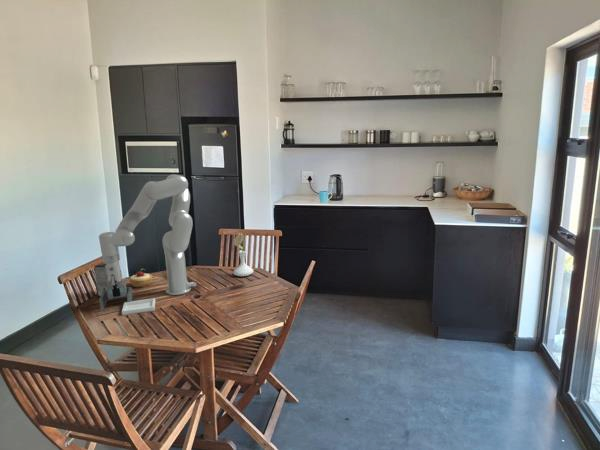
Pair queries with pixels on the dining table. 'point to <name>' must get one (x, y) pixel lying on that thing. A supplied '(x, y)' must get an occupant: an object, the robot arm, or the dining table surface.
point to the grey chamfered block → (121, 286)
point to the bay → (105, 297)
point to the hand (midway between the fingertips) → (117, 293)
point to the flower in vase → (242, 268)
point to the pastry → (141, 279)
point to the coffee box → (101, 277)
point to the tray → (138, 306)
